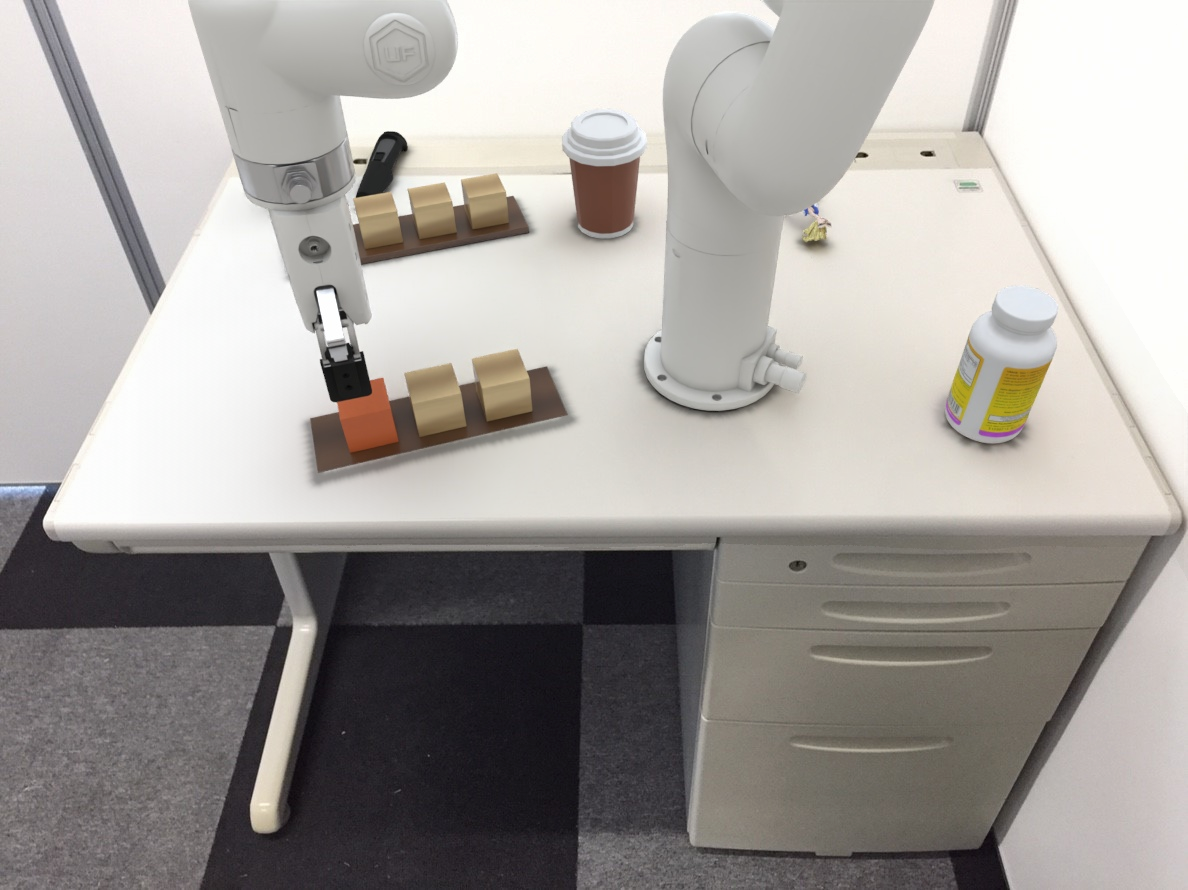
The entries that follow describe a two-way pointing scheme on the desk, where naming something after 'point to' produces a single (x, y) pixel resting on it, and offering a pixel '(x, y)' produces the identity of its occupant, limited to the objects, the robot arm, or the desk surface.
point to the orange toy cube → (368, 419)
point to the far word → (436, 219)
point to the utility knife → (382, 164)
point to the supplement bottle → (1003, 365)
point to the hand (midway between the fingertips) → (344, 357)
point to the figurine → (815, 225)
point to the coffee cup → (604, 170)
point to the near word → (450, 409)
